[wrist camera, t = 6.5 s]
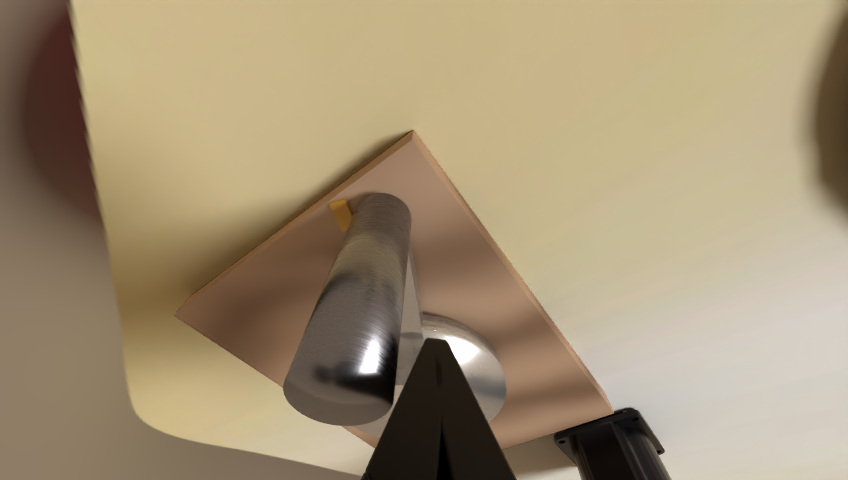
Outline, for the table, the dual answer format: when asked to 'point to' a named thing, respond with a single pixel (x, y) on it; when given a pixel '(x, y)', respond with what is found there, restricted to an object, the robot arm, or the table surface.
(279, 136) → the table surface
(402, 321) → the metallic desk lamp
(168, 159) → the table surface
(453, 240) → the stand base
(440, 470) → the robot arm
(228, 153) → the table surface
